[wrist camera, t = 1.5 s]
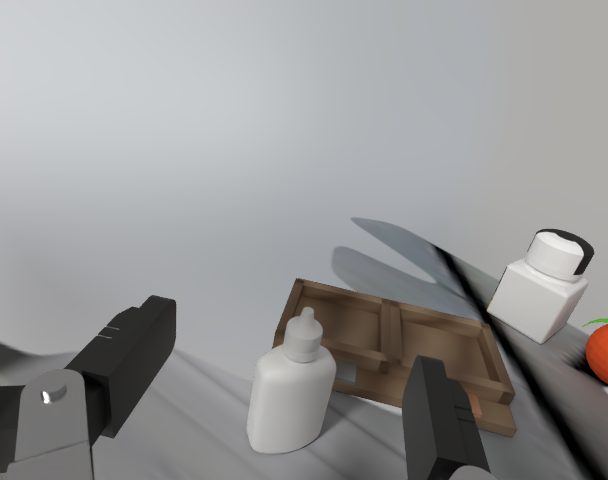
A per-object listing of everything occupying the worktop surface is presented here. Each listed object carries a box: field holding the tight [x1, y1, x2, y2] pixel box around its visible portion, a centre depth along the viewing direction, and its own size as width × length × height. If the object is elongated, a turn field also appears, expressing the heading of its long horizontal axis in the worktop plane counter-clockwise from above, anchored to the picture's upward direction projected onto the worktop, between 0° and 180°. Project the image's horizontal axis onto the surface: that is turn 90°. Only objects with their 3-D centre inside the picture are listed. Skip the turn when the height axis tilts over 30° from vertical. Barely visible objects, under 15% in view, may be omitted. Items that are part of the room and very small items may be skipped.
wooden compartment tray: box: [272, 278, 517, 437], centre depth 41 cm, size 22×15×2 cm
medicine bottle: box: [487, 229, 594, 344], centre depth 48 cm, size 7×7×12 cm
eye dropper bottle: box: [247, 307, 336, 454], centre depth 28 cm, size 4×6×12 cm
